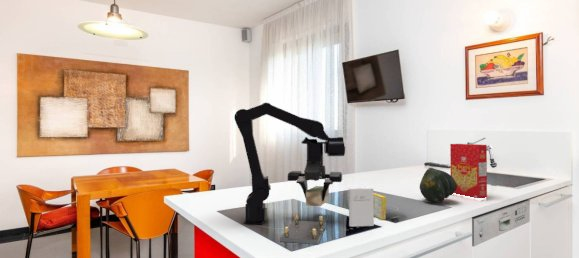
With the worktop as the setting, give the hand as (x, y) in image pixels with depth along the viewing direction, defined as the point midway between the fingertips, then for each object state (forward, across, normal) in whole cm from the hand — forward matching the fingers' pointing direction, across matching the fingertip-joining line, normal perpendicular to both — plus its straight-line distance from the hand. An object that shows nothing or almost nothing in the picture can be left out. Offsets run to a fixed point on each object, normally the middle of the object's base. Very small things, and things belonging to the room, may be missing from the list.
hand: (315, 200), depth 115 cm
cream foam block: (+1, 0, +3) cm, 3 cm away
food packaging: (+7, +64, +54) cm, 84 cm away
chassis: (+7, -1, -14) cm, 16 cm away
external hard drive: (+7, +16, -2) cm, 18 cm away
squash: (+7, +48, +40) cm, 63 cm away
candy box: (+8, +20, +14) cm, 25 cm away
